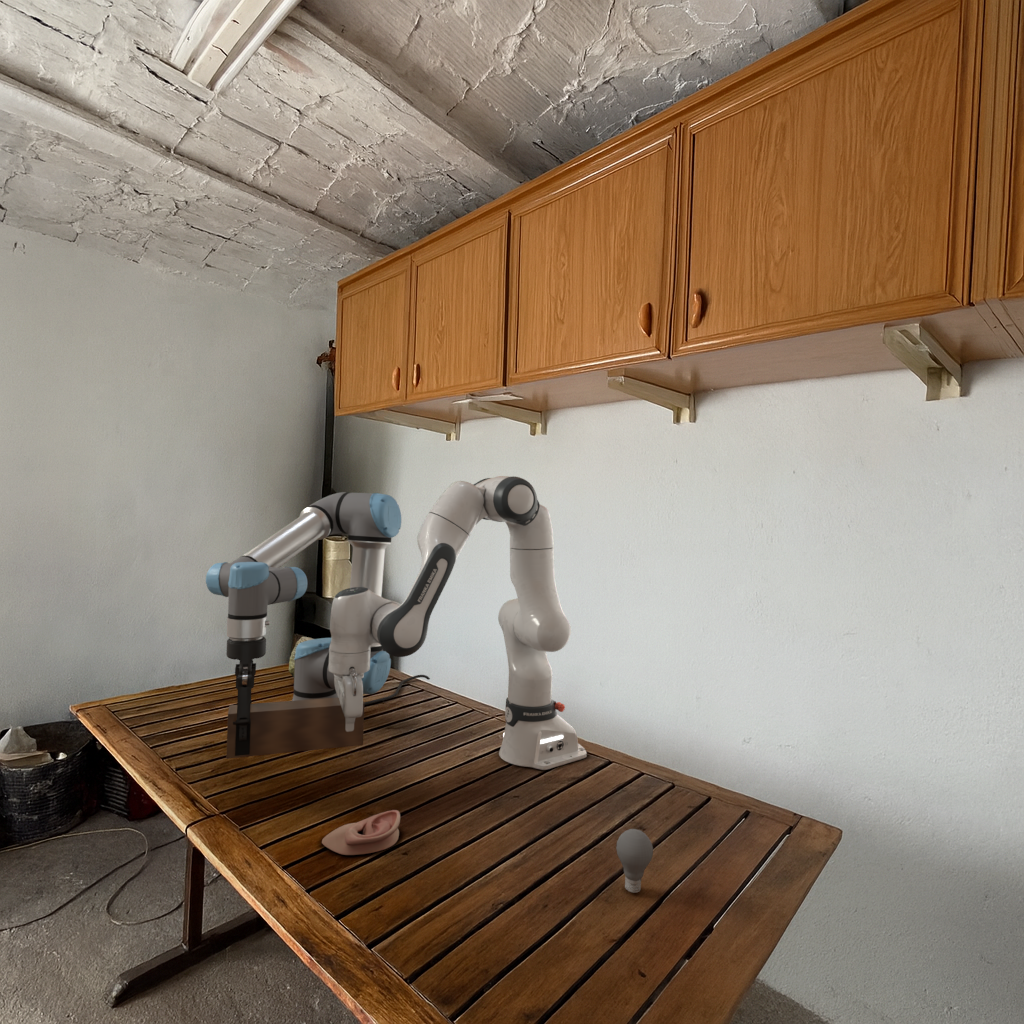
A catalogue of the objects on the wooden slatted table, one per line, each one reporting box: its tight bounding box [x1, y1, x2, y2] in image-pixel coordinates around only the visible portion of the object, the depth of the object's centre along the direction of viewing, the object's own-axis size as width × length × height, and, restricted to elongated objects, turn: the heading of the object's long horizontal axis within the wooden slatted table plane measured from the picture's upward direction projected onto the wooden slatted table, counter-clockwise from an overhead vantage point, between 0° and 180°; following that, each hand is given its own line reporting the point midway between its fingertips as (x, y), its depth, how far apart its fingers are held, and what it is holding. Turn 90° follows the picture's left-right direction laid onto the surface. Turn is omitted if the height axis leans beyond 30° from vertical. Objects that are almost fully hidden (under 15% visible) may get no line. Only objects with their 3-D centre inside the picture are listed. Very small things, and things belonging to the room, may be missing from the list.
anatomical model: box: [321, 809, 401, 856], centre depth 118 cm, size 13×4×12 cm
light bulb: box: [615, 828, 654, 894], centre depth 106 cm, size 6×6×10 cm
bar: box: [226, 698, 365, 760], centre depth 135 cm, size 27×6×9 cm, turn 111°
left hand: (242, 748), depth 131 cm, fingers closed on bar, 6 cm apart
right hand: (347, 724), depth 139 cm, fingers closed on bar, 5 cm apart
